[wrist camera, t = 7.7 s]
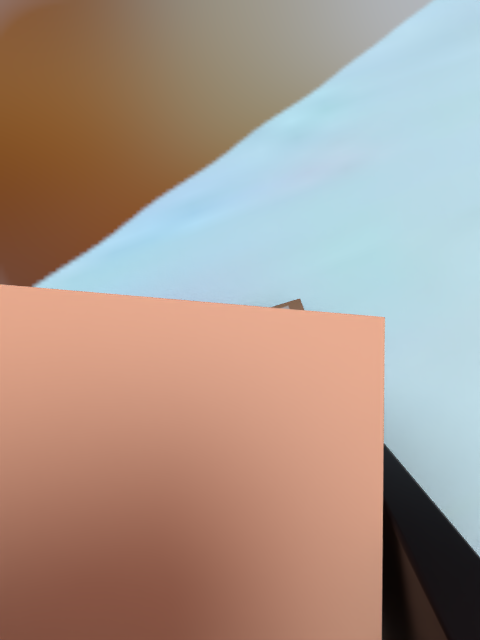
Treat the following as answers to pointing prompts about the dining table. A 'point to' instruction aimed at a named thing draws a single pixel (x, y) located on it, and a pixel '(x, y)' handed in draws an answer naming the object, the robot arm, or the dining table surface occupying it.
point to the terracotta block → (188, 470)
